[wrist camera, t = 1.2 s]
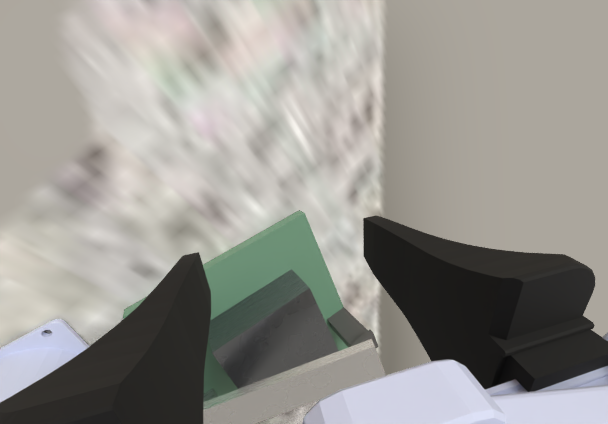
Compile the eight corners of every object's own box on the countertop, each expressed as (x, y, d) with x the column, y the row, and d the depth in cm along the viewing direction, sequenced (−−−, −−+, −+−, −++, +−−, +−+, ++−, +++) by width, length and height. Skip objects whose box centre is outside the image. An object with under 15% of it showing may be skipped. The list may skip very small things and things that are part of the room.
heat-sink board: (226, 430, 27) (241, 498, 22) (124, 309, 21) (112, 366, 16) (352, 335, 31) (388, 374, 26) (299, 210, 25) (334, 229, 20)
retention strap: (206, 430, 21) (203, 446, 20) (184, 406, 20) (180, 421, 19) (381, 365, 20) (387, 378, 19) (370, 336, 19) (375, 348, 18)
